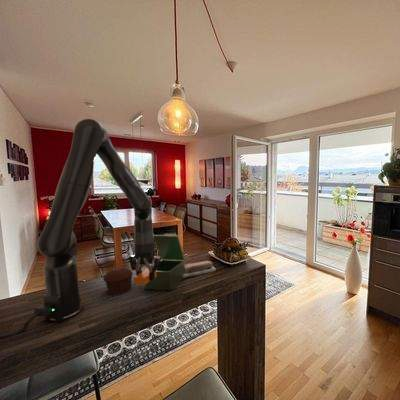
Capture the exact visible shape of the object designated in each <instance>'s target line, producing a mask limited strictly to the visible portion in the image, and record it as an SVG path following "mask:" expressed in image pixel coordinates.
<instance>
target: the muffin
mask: <svg viewBox="0 0 400 400" xmlns="http://www.w3.org/2000/svg"><path fill="white" fill-rule="evenodd" d="M133 275H134V272H133V271H132V269H130V268H127V267H124V266H119V267H114V268H112V269H109V271H107V272H106V273H105V275H104V276H103V279H102V280H103V281H104V282H105V285H106V288H107V291H108V295H109V294H110V295H117V294H122V293H125V292H128V291H129V290H130V289H131V288H132V278H133Z"/></svg>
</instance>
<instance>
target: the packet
mask: <svg viewBox="0 0 400 400" xmlns="http://www.w3.org/2000/svg"><path fill="white" fill-rule="evenodd" d="M155 277H157V275H156V271H155ZM148 282H150V280H149V270H146V269H145V270H142V273H140V274H138V275H137V276H136V275H135V276H134V277H133V285H143V286H145V284H147V283H148Z"/></svg>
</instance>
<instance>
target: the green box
mask: <svg viewBox="0 0 400 400" xmlns="http://www.w3.org/2000/svg"><path fill="white" fill-rule="evenodd" d="M185 262H186V261H185V260H168V259H161V261H160V266H159V269H158V270H156V275H157V277H155V278H154V279H153V280H151V281H150V282H148V283H147V284H145V285H144V289H145V290H155V291H156V290H157V291H172V289H174V288H175V287H176V286H177V285H179V283H180V282H181V281H182V280H184V278H183V275H184V274H185V265H186V263H185ZM145 270H149V269H148V268H146V269H145Z"/></svg>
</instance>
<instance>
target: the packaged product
mask: <svg viewBox="0 0 400 400" xmlns="http://www.w3.org/2000/svg"><path fill="white" fill-rule="evenodd" d="M216 271H217V268H216V267H215V266H213V262H212V261H211V260H205V261H204V260H203V261H198V262H193V263H187V264H186V263H185V274H184V275H183V279H185V278H190V277H195V276H201V275H204V274H208V273H213V272H216Z"/></svg>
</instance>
